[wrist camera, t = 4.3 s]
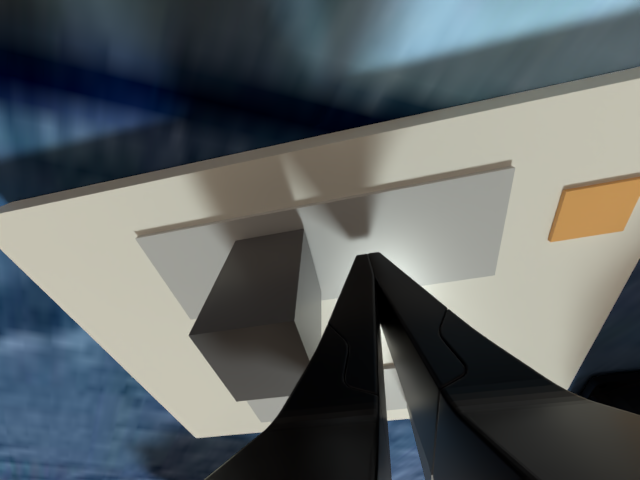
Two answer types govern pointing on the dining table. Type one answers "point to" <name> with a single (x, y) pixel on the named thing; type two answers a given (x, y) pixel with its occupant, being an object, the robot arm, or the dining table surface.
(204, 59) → the dining table surface
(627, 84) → the board
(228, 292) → the block
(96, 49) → the dining table surface
